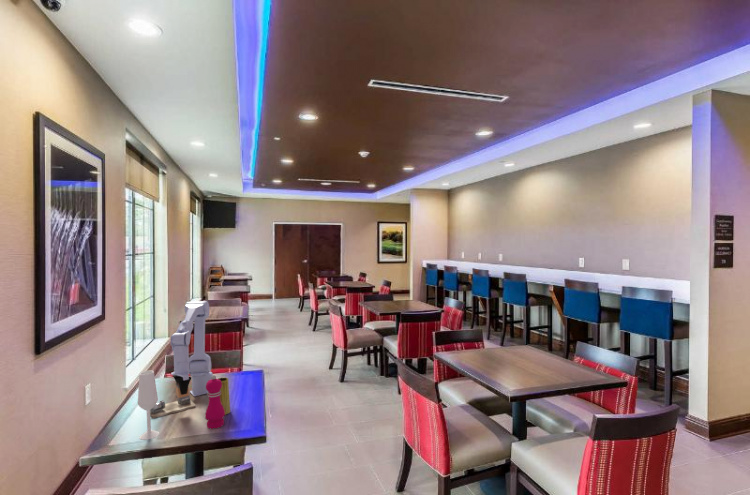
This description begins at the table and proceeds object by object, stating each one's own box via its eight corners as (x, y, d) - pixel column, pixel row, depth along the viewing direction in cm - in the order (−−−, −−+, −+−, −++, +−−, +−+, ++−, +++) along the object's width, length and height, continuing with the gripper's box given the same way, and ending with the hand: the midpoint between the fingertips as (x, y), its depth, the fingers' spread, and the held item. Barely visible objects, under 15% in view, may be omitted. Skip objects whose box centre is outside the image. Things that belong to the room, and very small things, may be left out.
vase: (216, 417, 171) (214, 383, 170) (214, 411, 176) (213, 378, 176) (231, 413, 174) (230, 380, 173) (229, 408, 179) (228, 376, 179)
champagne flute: (163, 431, 159) (160, 370, 158) (150, 440, 152) (147, 375, 152) (148, 430, 160) (145, 369, 160) (134, 438, 154) (132, 375, 153)
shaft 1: (161, 410, 179) (161, 399, 179) (165, 412, 177) (165, 401, 177) (150, 414, 175) (149, 403, 175) (154, 416, 173) (153, 405, 173)
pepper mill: (213, 431, 158) (211, 379, 158) (201, 426, 162) (199, 376, 162) (229, 423, 165) (227, 373, 164) (217, 419, 168) (215, 371, 168)
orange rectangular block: (186, 394, 178) (185, 380, 178) (189, 397, 175) (188, 383, 175) (176, 397, 176) (175, 383, 176) (178, 400, 173) (177, 385, 172)
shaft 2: (188, 402, 187) (188, 392, 187) (190, 405, 184) (190, 394, 184) (177, 405, 184) (177, 394, 184) (179, 408, 181) (178, 397, 181)
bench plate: (189, 399, 190) (189, 397, 190) (195, 407, 182) (195, 405, 181) (147, 409, 180) (147, 407, 180) (152, 418, 171) (152, 416, 171)
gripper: (167, 358, 178) (168, 390, 179) (175, 366, 167) (176, 400, 167) (184, 355, 183) (186, 386, 183) (193, 363, 171) (194, 395, 172)
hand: (182, 392), depth 175 cm, fingers closed on orange rectangular block, 4 cm apart
